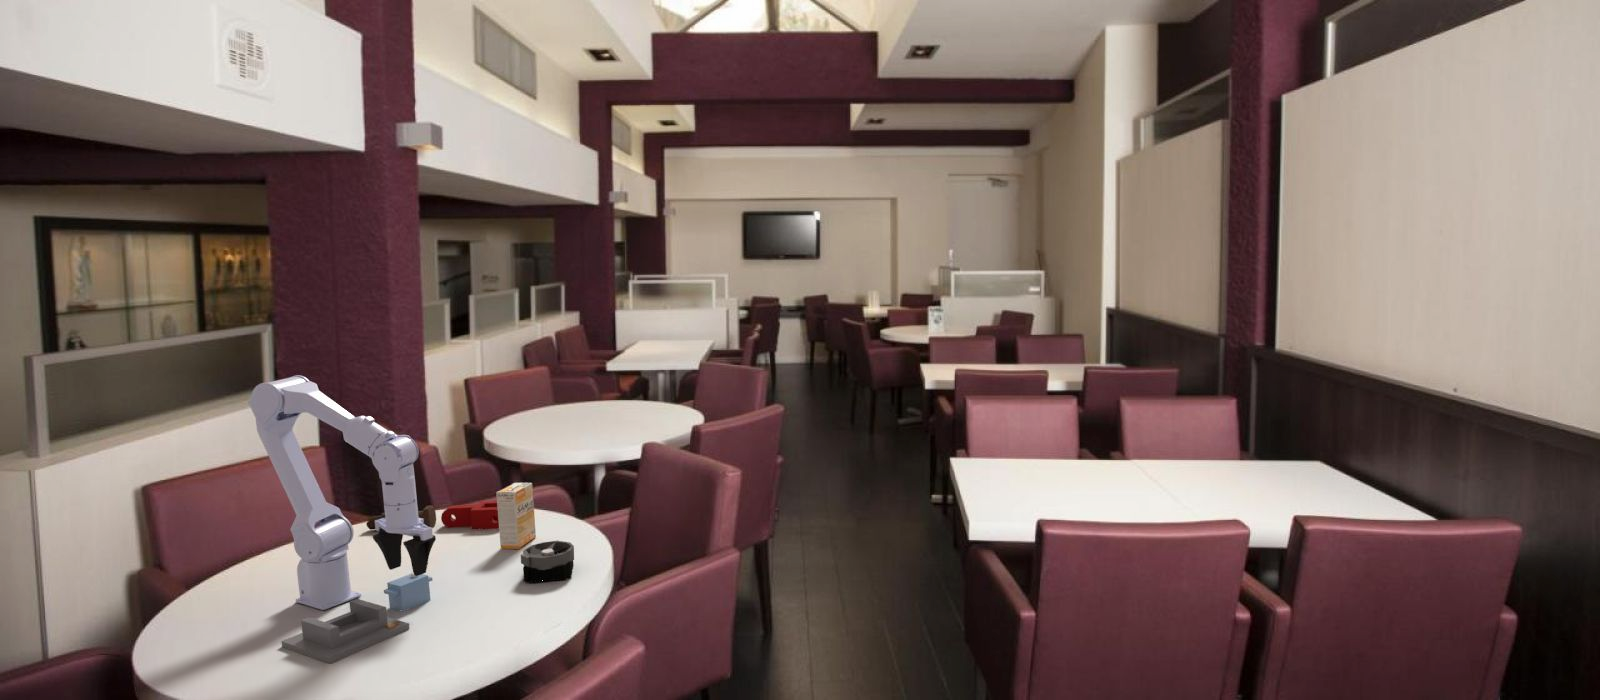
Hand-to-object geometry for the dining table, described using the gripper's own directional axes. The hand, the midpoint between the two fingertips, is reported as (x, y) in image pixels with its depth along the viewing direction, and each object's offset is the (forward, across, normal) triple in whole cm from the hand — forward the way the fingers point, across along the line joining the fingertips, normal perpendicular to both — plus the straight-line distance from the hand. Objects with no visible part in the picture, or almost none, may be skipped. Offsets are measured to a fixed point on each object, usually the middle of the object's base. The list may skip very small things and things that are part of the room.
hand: (407, 570), depth 177 cm
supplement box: (+7, +8, -34) cm, 36 cm away
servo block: (+7, 0, 0) cm, 7 cm away
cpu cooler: (+7, -13, -23) cm, 27 cm away
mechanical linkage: (+7, +28, -39) cm, 49 cm away
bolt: (+7, +43, -29) cm, 52 cm away
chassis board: (+6, -3, +15) cm, 17 cm away
